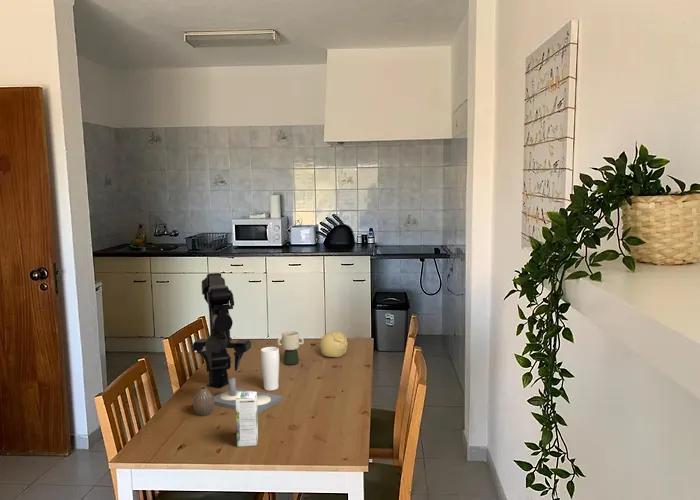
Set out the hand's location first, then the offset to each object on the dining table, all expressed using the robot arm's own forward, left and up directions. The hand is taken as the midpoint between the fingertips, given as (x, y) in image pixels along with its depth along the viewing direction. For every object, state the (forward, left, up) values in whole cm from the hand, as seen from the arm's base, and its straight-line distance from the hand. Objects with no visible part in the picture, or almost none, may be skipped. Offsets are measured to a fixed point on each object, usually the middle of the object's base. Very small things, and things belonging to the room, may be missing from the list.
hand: (223, 370), depth 192 cm
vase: (-4, -6, -14) cm, 15 cm away
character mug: (-7, +50, -14) cm, 52 cm away
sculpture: (+4, +67, -14) cm, 69 cm away
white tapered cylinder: (+3, +22, -14) cm, 26 cm away
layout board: (+2, +8, -14) cm, 16 cm away
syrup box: (+23, -17, -14) cm, 32 cm away
